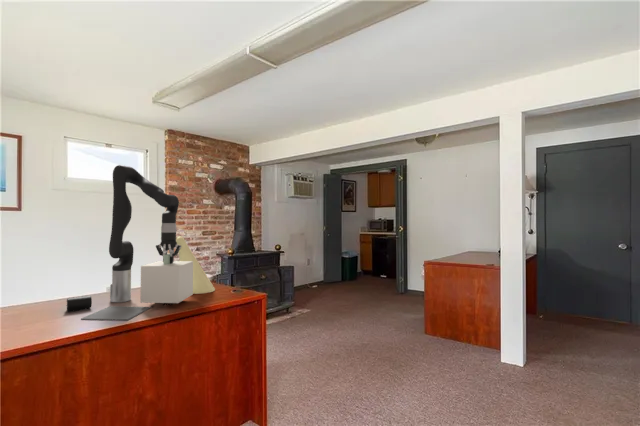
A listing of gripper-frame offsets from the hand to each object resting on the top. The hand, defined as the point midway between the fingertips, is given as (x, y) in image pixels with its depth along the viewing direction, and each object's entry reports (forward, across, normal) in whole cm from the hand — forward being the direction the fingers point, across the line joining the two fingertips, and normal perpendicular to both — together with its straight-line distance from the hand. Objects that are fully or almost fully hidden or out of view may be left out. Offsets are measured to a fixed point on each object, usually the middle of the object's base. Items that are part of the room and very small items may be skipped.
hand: (168, 263), depth 191 cm
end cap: (+22, -39, -14) cm, 47 cm away
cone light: (+22, +3, +33) cm, 40 cm away
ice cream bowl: (+22, 0, 0) cm, 22 cm away
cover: (+19, 0, 0) cm, 19 cm away
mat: (+22, -16, -19) cm, 33 cm away
